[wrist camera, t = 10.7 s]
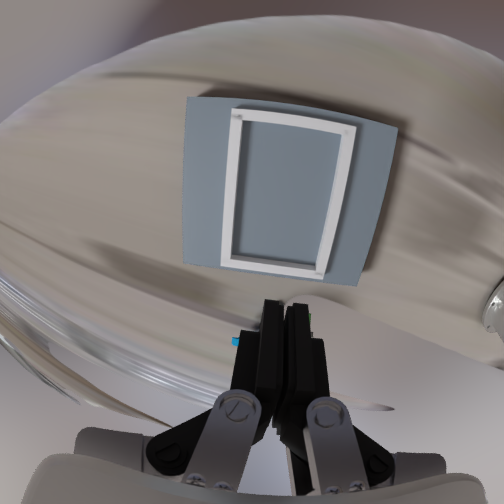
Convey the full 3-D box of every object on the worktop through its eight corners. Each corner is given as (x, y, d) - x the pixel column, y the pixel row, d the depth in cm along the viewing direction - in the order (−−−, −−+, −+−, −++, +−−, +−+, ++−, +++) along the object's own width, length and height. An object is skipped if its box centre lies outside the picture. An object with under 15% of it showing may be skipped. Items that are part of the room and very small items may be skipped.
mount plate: (388, 126, 24) (402, 128, 20) (352, 274, 32) (358, 291, 29) (194, 97, 24) (183, 96, 21) (189, 252, 33) (180, 267, 30)
